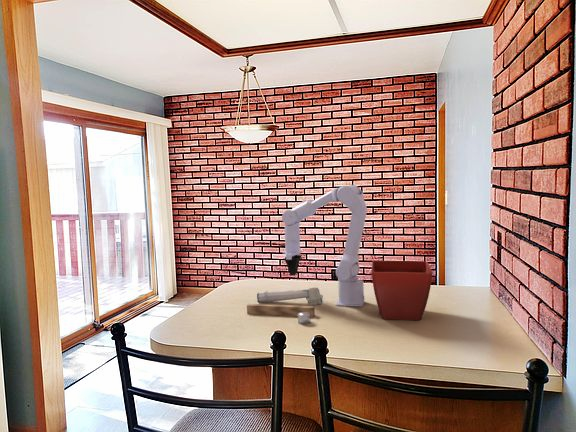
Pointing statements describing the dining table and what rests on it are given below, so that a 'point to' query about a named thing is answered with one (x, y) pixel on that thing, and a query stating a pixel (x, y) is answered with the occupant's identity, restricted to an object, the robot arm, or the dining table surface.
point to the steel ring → (303, 318)
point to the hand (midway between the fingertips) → (293, 274)
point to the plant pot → (401, 288)
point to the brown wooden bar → (279, 309)
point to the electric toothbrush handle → (291, 296)
